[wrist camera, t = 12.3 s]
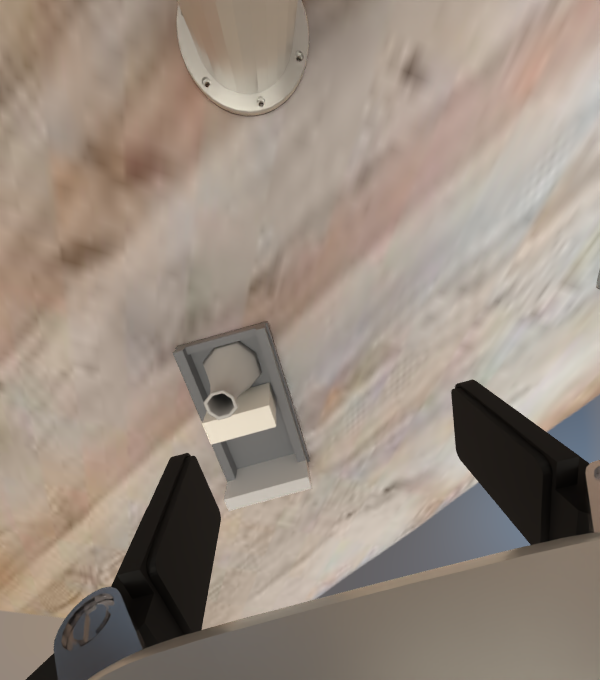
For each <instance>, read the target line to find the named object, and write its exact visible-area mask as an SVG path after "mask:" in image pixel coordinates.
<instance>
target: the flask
mask: <svg viewBox="0 0 600 680" xmlns="http://www.w3.org/2000/svg"><path fill="white" fill-rule="evenodd" d="M203 365H204V368H205V371H206V373H207V376H208V379H209V382H210V395H209V396H208V397H207V398H206V400H205V401H204V406H205V408H206V410H207V413H208V414H209V415H211V416H212V417H214V418H216V419H217V420H221V419H225V418H228V417H231V416H232V414H233V413H234V412H235V411H236V410H237V408H238V405H237V402H236V400H237V397H238V396H239V395H240V394H242V393H243V392H245V391H246V390H248V389H249V388H250V387H251V386H252V384H253V383H254V382H255V381H256V379H257V378H258V377H259V376H260V375H261V373H262V370H261V367H260V364H259V361H258V358H257V355H256V353H255V352H254V351H253V350H251V349H250V348H248V347H247V346H245V345H244V344H243V343H241V342H240V341H237V342H233V343H229V344H226V345H222V346H219V347H215V348H213V350H212V351H211V352H210V354H209V355H208V356H207V357H206V359H205V360H204V361H203Z"/></svg>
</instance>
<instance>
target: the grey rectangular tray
mask: <svg viewBox="0 0 600 680" xmlns="http://www.w3.org/2000/svg"><path fill="white" fill-rule="evenodd" d="M237 341H240V342H241V343H243V344H244V345H245V346H247V347H248V348H250V349H251V350H253V351H254V352H255V353H256V355H257V358H258V361H259V364H260V367H261V370H262V373H261V375H260V376H259V377H258V378H257V379H256V381H255V382H254V383H253V384H252V386H251V387H255V386H258V385H262V384H266V383H269V382H270V385H271V388H272V391H273V394H274V397H275V400H276V427H274V428H270V429H266V430H263V431H259V432H255V433H252V434H248V435H245V436H241V437H237V438H234V439H230V440H226V441H223V442H219V443H215V444H212V447H213V449H214V451H215V454H216V456H217V458H218V461H219V463H220V466H221V468H222V470H223V473H224V475H225V477H226V480H227V486H226V491H225V497H224V501H225V503H226V506H227V508H228V510H229V511H231V510H235V509H239V508H242V507H246V506H250V505H253V504H257V503H261V502H264V501H268V500H271V499H275V498H279V497H282V496H286V495H290V494H293V493H297V492H301V491H304V490H308V489H312V486H311V479H310V473H309V466H308V462H309V461H310V460H309V456H308V452H307V449H306V446H305V443H304V439H303V436H302V433H301V429H300V426H299V423H298V420H297V416H296V413H295V410H294V407H293V403H292V400H291V397H290V394H289V390H288V387H287V384H286V380H285V377H284V374H283V371H282V367H281V364H280V361H279V358H278V354H277V351H276V348H275V345H274V341H273V338H272V335H271V331H270V328H269V325H268V322H263V323H260V324H256V325H252V326H249V327H245V328H241V329H238V330H234V331H230V332H227V333H223V334H220V335H216V336H212V337H209V338H205V339H201V340H198V341H194V342H191V343H187V344H183V345H180V346H177V347H176V348H175V349H176V350H175V351H174V352H173V355H174V357H175V360H176V362H177V364H178V367H179V369H180V371H181V374H182V376H183V378H184V381H185V383H186V385H187V388H188V390H189V393H190V395H191V397H192V400H193V402H194V404H195V407H196V409H197V411H198V414H199V416H200V418H201V421H202V422H203V420H204V417H205V415H206V412H207V410H206V408H205V406H204V401H205V400H206V398H207V397H208V396H209V395H210V382H209V379H208V376H207V373H206V371H205V368H204V365H203V361H204V360H205V359H206V357H207V356H208V355H209V354H210V352H211V351H212V350H213V348H215V347H219V346H222V345H226V344H229V343H233V342H237ZM251 387H250V388H251Z"/></svg>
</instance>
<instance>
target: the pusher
mask: <svg viewBox="0 0 600 680" xmlns="http://www.w3.org/2000/svg"><path fill="white" fill-rule="evenodd" d="M236 402H237V405H238V408H237V410H236V411H235V412H234V413H233V414H232V416H231V417H228V418H225V419H221V420H217V419H216V418H214V417H212V416H211V415H209V414H208V413H207V412H206V415H205V417H204V420H203V422H202V425H203V427H204V430H205V432H206V434H207V437H208V439H209V441H210V444H211V445H212V444H215V443H219V442H223V441H226V440H230V439H234V438H237V437H241V436H245V435H248V434H252V433H255V432H259V431H263V430H266V429H270V428H274V427H276V400H275V397H274V394H273V391H272V388H271V385H270V382H269V383H266V384H262V385H258V386H255V387H251V388H249V389H248V390H246V391H245V392H243V393H242V394H240V395H239V396H238V397H237V400H236Z"/></svg>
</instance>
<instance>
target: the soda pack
mask: <svg viewBox="0 0 600 680" xmlns="http://www.w3.org/2000/svg"><path fill="white" fill-rule="evenodd" d="M596 287H597V288H598V289H600V271H599V275H598V280H597V286H596Z"/></svg>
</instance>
